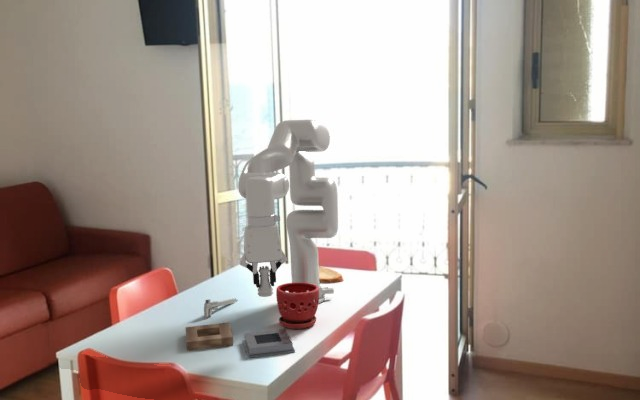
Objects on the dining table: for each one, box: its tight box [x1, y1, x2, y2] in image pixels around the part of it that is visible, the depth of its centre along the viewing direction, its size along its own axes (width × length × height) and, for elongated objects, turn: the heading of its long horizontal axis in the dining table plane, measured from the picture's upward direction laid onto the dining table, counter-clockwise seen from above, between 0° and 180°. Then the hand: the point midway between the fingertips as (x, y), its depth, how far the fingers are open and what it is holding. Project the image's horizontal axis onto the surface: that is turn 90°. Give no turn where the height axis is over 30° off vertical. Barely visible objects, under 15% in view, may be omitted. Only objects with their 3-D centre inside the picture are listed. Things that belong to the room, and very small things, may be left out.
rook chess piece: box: [257, 265, 274, 298], centre depth 190 cm, size 4×4×8 cm
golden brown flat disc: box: [319, 265, 344, 284], centre depth 263 cm, size 18×18×4 cm
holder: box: [242, 328, 296, 359], centre depth 193 cm, size 13×13×2 cm
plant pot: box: [275, 282, 319, 330], centre depth 210 cm, size 13×13×12 cm
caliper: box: [203, 298, 239, 320], centre depth 228 cm, size 20×1×6 cm, turn 158°
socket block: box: [184, 322, 234, 351], centre depth 200 cm, size 13×13×2 cm
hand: (264, 285), depth 190 cm, fingers closed on rook chess piece, 3 cm apart
